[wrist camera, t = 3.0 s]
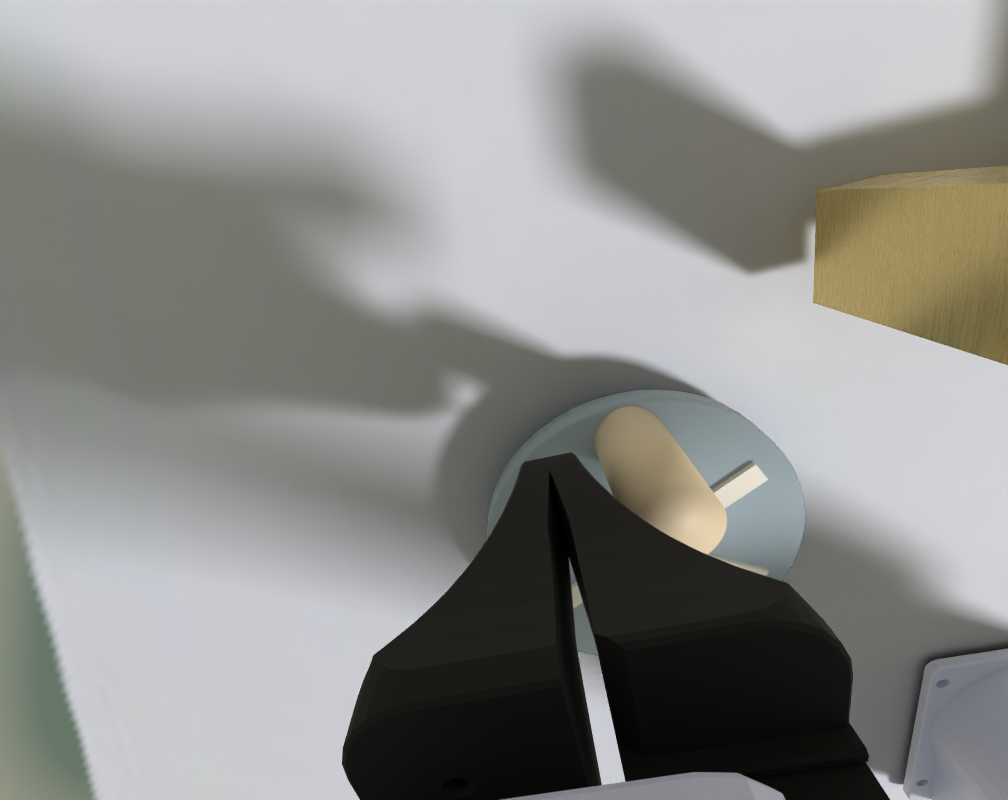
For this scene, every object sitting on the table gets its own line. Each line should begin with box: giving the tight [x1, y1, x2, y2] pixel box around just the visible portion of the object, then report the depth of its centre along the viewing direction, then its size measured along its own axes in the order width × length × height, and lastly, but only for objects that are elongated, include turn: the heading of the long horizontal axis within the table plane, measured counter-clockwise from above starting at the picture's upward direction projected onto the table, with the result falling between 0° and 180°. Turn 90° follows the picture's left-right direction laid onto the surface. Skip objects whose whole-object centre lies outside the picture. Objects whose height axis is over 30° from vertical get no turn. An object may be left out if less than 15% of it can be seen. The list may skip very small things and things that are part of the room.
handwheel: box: [487, 389, 805, 656], centre depth 13 cm, size 10×10×5 cm
